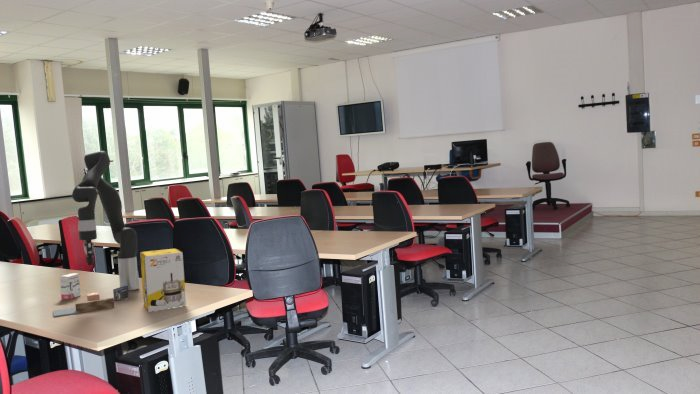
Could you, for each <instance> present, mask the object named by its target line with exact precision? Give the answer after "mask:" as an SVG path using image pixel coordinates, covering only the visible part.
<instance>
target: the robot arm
mask: <svg viewBox="0 0 700 394" xmlns="http://www.w3.org/2000/svg"><path fill="white" fill-rule="evenodd" d="M83 161H84V164H85V167H86V169H87V172H86V173H85V174H84V175H83V178H82V179H81V182H79V183H78V184H77V185H76V186H75V187H74V188H73V190H72V195H71V197H72V200H73V201H74V202H76V203H88V204H87V205H86V206H82V207H79V208H78V209H77V219H78V224H77V225H78V226H77V227H78V239H79V240H80V241H84V243H83V249H84V251H83V252H84V254H85V258H86V259H85V261H86V264H87V265H88V266H93V265H94V259H93V257H94V243H93V242H92V241H93V240H96V239H98V236H97V235H98V234H97V224H96V223H97V222H96V216H95V214H96V213H95V210H96V201H97V199H98V197H99V200H100V202H101V204H102V208H103V210H104V211H105V215H106V218H107V220H108V222H109V225H110V229H111V233H112V237H113V239H114V242H115V243H116V244H118V245H120V251H119V252H118V253H117V264H118V266H117V267H118V276H119V279H118V280H119V287H123V286H128V292H129V291H134V290H140V279H139V270H138V261H137V253H138V233H137V231H136V230H135V228H131V227H127V226H126V224H125V221H124V219H123V214H122V212H123V211H122V209H123V205H122V200H121V196H120V195H119V192H118V191H117V189H116V188H115V186H114V187H113V185H111V184H110V183H109V182H107V181H106V180H105V179H104V178H103V175H104V174H105V172H106V171H107V170H108V168H109V167H110V165H111V159H110V156H109V154H108V153H107V152H106V151H104V150H100V151H95V152H92V153H87V154H85V155H84V158H83Z"/></svg>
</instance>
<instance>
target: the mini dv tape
mask: <svg viewBox="0 0 700 394" xmlns="http://www.w3.org/2000/svg"><path fill="white" fill-rule="evenodd" d="M112 293H113V298H114V302H120V301H123V300H126V299H128V298H129V291H128V286H123V287H120V286H119V287H116V288H114V289H112Z"/></svg>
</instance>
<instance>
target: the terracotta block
mask: <svg viewBox="0 0 700 394" xmlns="http://www.w3.org/2000/svg"><path fill="white" fill-rule="evenodd" d="M86 300H87V301H86V302H88V301H95V300H101V297H100V293H99V292H92V293H86Z"/></svg>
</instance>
